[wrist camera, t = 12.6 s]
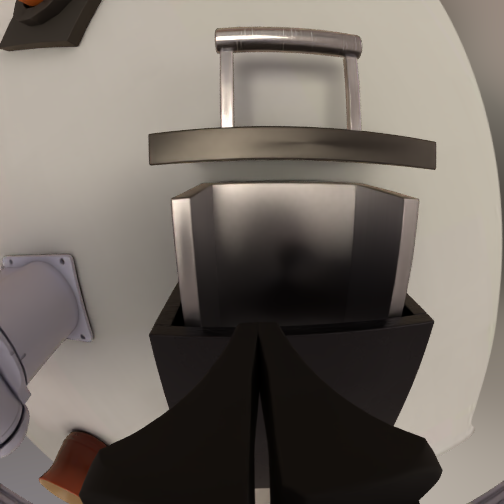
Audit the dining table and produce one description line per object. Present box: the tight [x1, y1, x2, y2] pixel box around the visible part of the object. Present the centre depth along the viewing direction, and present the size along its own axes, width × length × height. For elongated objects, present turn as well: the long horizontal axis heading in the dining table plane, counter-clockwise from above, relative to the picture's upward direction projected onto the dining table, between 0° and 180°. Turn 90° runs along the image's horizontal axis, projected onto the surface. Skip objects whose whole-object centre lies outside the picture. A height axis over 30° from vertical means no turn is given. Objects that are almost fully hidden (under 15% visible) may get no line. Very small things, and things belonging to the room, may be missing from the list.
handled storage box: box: [149, 281, 434, 489], centre depth 17 cm, size 15×13×9 cm
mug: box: [39, 431, 107, 504], centre depth 24 cm, size 12×9×10 cm
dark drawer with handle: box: [148, 27, 436, 327], centre depth 14 cm, size 19×11×7 cm, turn 1°
